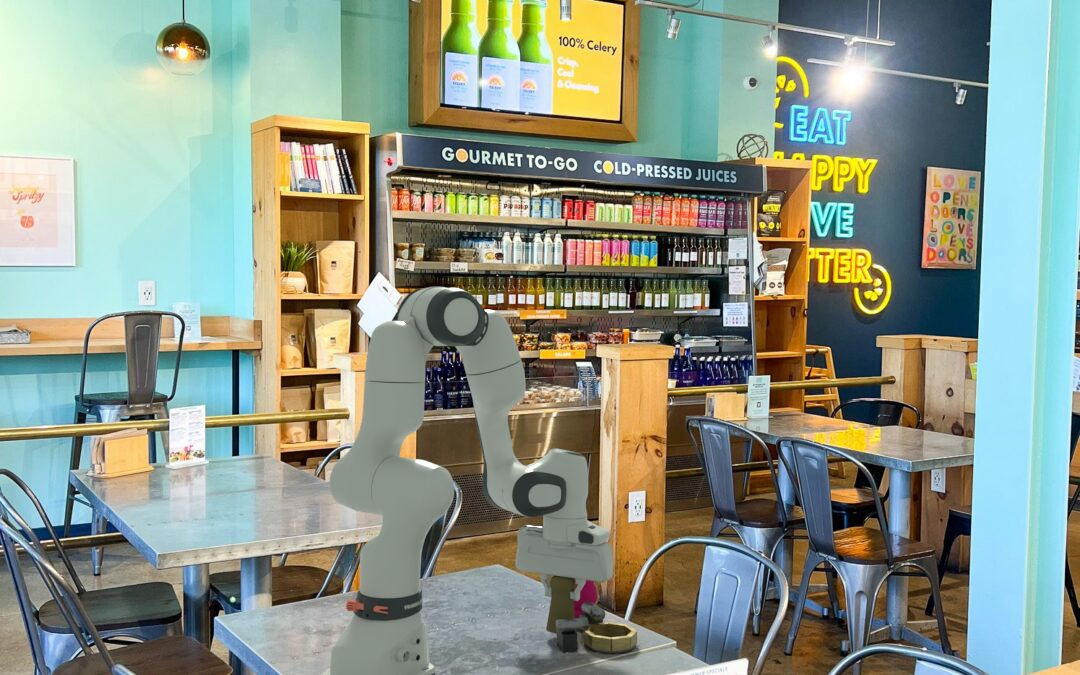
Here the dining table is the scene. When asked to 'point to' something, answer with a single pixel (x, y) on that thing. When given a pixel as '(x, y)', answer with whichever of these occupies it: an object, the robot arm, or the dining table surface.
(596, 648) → the coupling collar
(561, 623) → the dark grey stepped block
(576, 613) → the pepper mill
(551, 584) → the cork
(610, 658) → the dining table surface
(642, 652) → the dining table surface
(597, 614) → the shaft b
